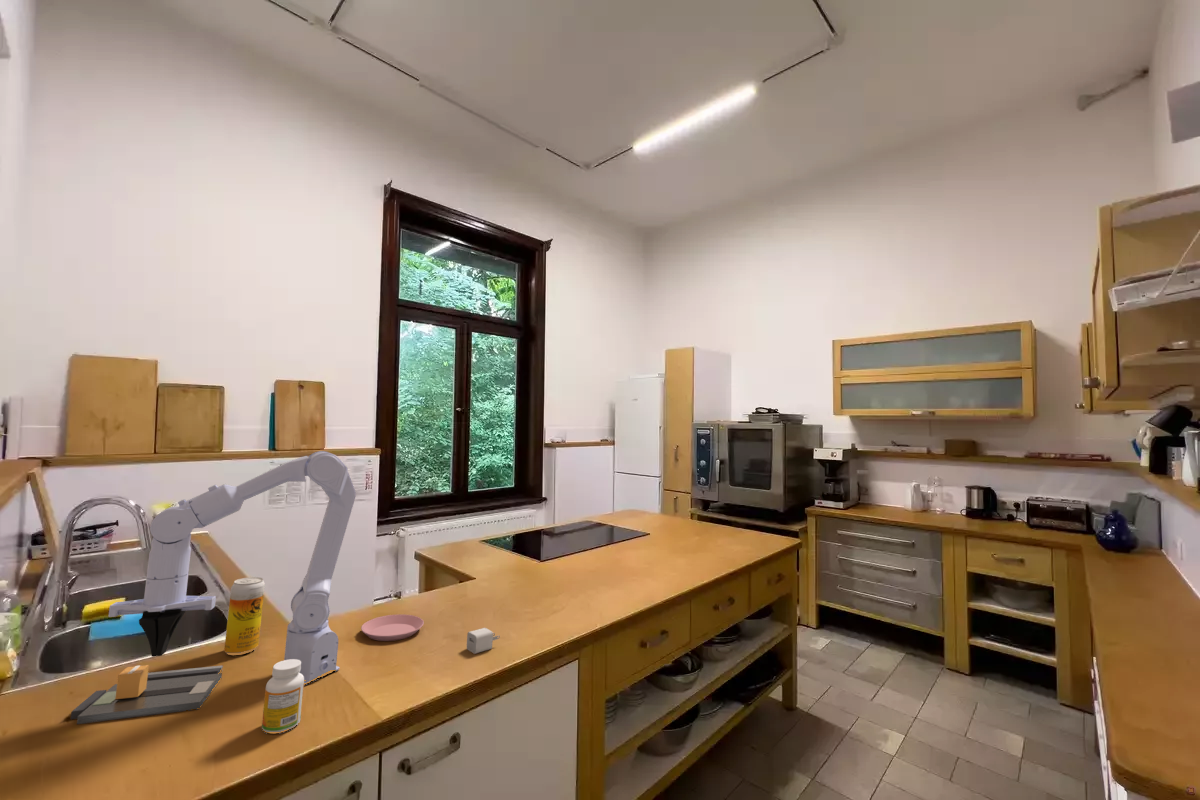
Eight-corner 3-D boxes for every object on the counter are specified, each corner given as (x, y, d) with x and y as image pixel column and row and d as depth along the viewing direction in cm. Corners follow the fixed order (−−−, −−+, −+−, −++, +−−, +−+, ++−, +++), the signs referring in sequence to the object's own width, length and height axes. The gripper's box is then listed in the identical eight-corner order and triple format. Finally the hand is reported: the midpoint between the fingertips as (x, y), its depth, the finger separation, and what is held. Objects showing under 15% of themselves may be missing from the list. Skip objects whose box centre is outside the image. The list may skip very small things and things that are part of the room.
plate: (435, 629, 125) (436, 620, 125) (391, 649, 112) (391, 640, 112) (393, 618, 131) (394, 610, 131) (346, 636, 118) (347, 628, 118)
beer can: (240, 658, 104) (248, 585, 105) (216, 655, 105) (224, 582, 106) (265, 647, 110) (272, 578, 111) (242, 644, 111) (249, 575, 112)
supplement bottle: (273, 716, 83) (279, 656, 84) (306, 716, 84) (312, 657, 85) (254, 735, 78) (260, 671, 79) (289, 735, 79) (295, 671, 79)
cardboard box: (146, 688, 88) (149, 664, 88) (137, 696, 85) (140, 671, 85) (124, 690, 86) (127, 666, 87) (115, 699, 84) (118, 674, 84)
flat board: (222, 670, 98) (223, 664, 98) (196, 704, 86) (197, 696, 86) (114, 681, 92) (115, 674, 92) (70, 719, 80) (71, 711, 80)
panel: (221, 679, 95) (222, 672, 95) (199, 709, 85) (200, 701, 85) (113, 691, 89) (114, 683, 89) (76, 724, 79) (77, 715, 79)
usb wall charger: (466, 649, 114) (467, 631, 114) (491, 641, 119) (493, 624, 119) (475, 654, 111) (476, 636, 112) (501, 646, 116) (502, 629, 117)
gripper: (102, 584, 82) (92, 669, 81) (209, 578, 88) (200, 658, 86) (125, 573, 89) (115, 651, 88) (222, 568, 94) (214, 642, 93)
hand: (158, 654), depth 87 cm, fingers closed
